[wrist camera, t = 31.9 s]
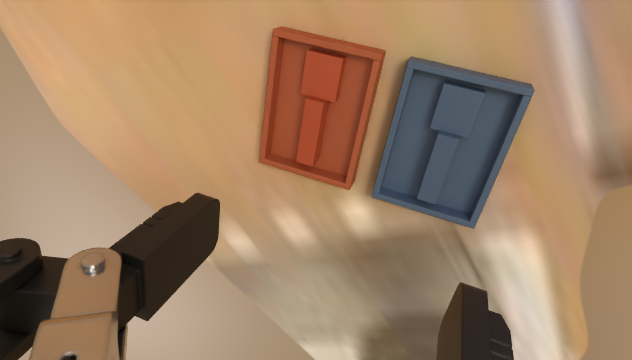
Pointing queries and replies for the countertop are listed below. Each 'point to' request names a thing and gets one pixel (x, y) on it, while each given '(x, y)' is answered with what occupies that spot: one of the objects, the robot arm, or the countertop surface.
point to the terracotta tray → (342, 117)
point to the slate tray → (471, 153)
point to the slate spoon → (449, 133)
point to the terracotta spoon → (318, 100)
